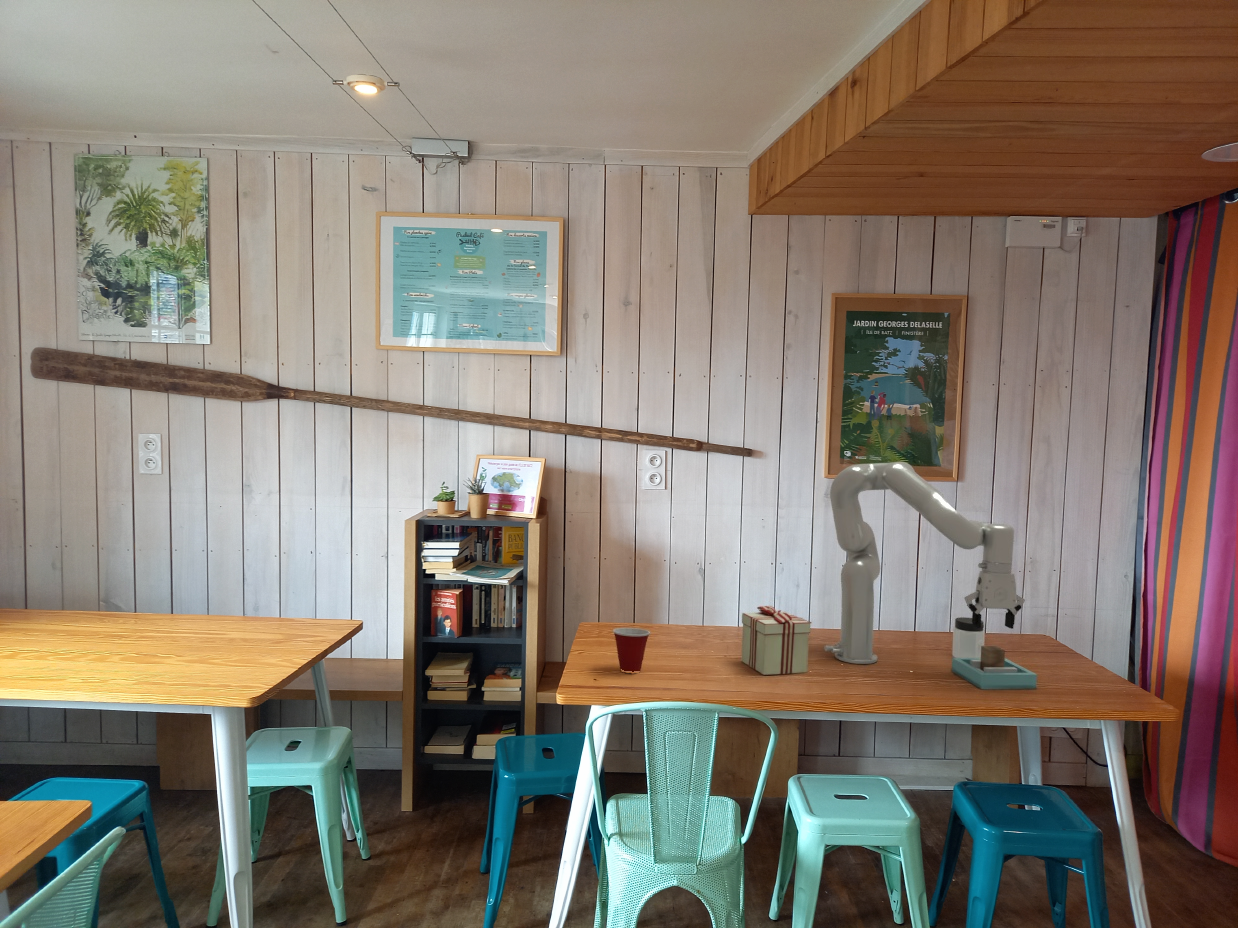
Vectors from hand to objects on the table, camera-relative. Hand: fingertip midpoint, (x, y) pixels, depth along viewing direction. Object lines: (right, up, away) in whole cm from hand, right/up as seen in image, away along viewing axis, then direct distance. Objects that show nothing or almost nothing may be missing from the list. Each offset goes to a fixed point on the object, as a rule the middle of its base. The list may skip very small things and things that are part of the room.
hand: (992, 626), depth 224 cm
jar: (+3, -15, +22) cm, 26 cm away
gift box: (-60, -14, +10) cm, 62 cm away
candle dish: (0, -15, 0) cm, 15 cm away
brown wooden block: (0, -14, +1) cm, 14 cm away
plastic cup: (-103, -13, +2) cm, 104 cm away
